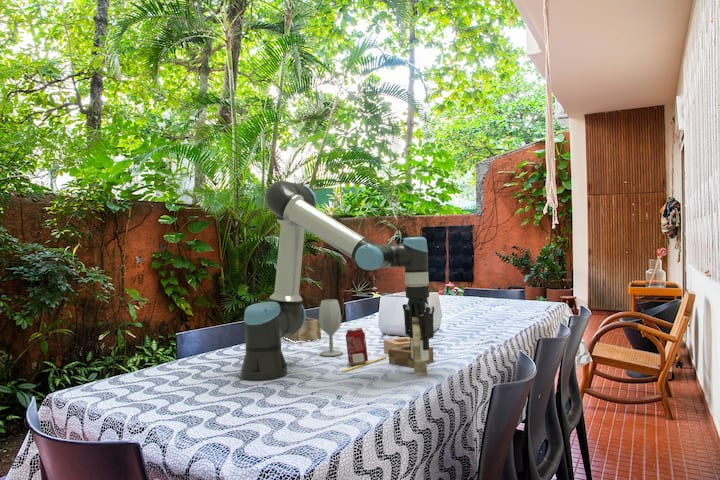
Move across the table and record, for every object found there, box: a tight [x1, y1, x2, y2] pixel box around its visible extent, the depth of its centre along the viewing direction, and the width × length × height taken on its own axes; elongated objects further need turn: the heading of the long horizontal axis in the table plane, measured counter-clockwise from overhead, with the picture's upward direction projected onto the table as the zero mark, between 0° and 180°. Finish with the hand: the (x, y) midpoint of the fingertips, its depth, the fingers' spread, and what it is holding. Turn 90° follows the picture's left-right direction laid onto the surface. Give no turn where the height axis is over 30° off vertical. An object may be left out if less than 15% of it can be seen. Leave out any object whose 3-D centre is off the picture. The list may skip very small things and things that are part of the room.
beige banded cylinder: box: [412, 316, 428, 376], centre depth 160 cm, size 4×4×18 cm
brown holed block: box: [388, 344, 434, 369], centre depth 175 cm, size 11×11×5 cm
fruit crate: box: [282, 316, 322, 342], centre depth 230 cm, size 13×14×9 cm
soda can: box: [345, 327, 369, 366], centre depth 176 cm, size 7×7×12 cm
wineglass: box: [318, 299, 344, 357], centre depth 195 cm, size 9×9×21 cm
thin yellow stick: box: [340, 356, 387, 373], centre depth 175 cm, size 24×1×1 cm, turn 142°
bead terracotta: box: [383, 336, 410, 356], centre depth 191 cm, size 11×11×5 cm
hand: (420, 358), depth 160 cm, fingers closed on beige banded cylinder, 4 cm apart
